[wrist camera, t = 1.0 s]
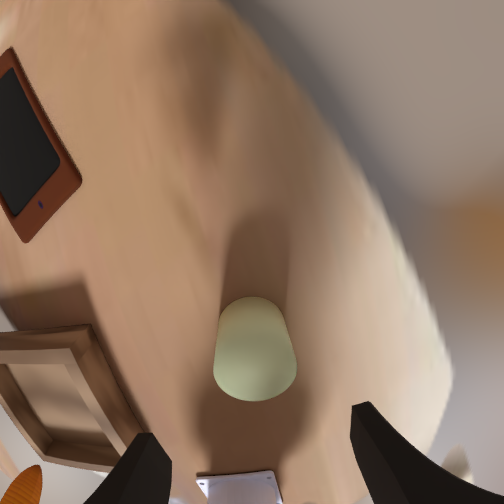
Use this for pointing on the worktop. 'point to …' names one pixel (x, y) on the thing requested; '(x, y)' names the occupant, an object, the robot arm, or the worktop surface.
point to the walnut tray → (65, 397)
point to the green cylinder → (253, 351)
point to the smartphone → (29, 156)
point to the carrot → (25, 487)
